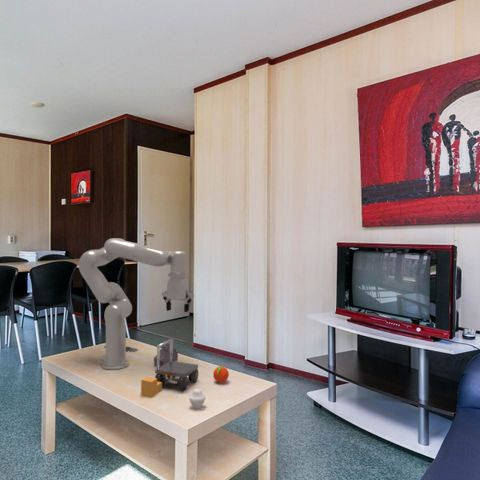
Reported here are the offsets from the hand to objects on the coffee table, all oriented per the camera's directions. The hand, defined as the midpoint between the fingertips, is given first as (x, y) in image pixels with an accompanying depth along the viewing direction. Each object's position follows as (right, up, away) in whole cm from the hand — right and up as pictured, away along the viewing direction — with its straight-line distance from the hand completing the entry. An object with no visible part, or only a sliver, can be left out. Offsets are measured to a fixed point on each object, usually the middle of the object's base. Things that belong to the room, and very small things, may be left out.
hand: (177, 311), depth 189 cm
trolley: (+3, -29, -20) cm, 35 cm away
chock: (-6, -29, -30) cm, 42 cm away
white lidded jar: (+14, -29, -42) cm, 53 cm away
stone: (-7, -29, +7) cm, 30 cm away
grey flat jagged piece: (-37, -28, +31) cm, 56 cm away
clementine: (+22, -29, -17) cm, 40 cm away
